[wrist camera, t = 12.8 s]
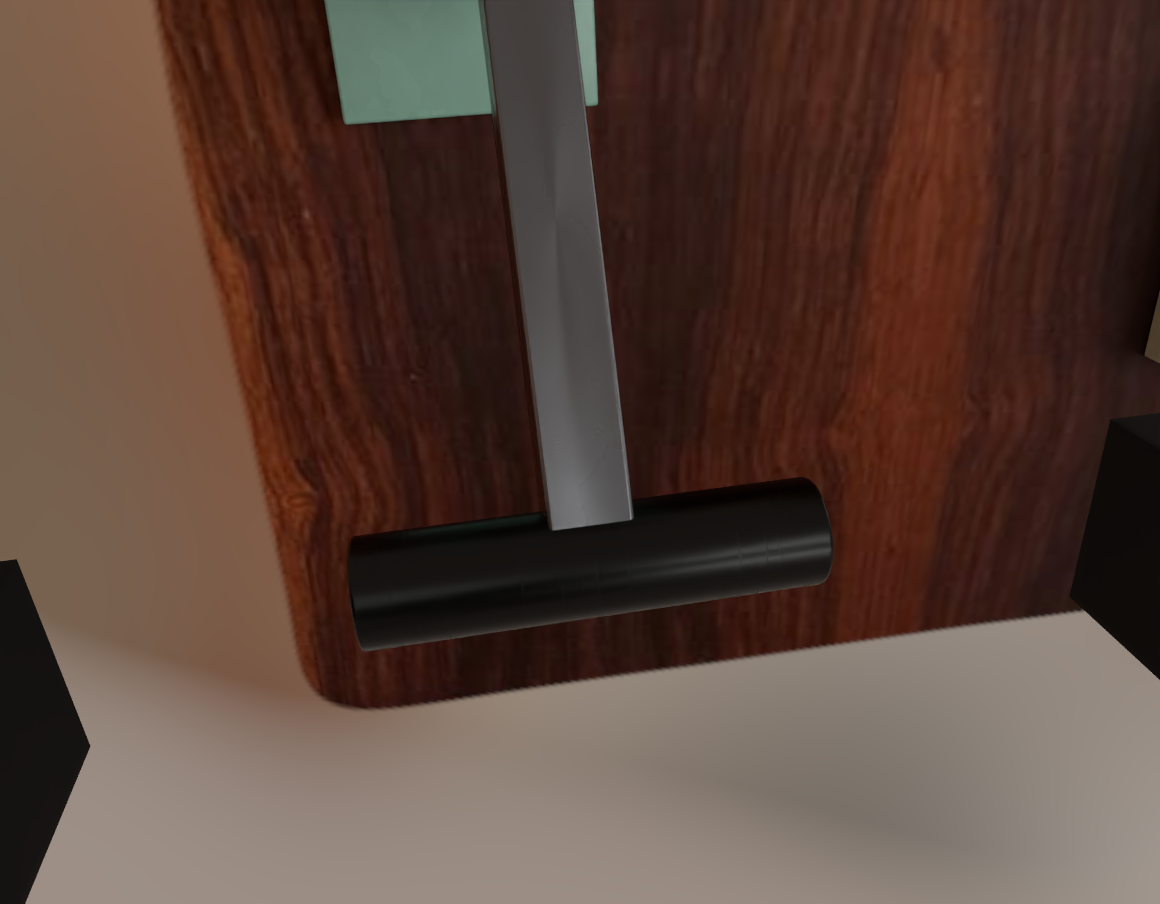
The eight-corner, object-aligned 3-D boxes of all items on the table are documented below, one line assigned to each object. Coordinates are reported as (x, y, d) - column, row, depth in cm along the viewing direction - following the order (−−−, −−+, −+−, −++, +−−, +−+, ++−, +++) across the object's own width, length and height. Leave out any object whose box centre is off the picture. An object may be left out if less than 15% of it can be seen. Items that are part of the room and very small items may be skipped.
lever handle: (787, 569, 14) (856, 599, 11) (371, 630, 13) (352, 675, 10) (691, -274, 13) (743, -429, 11) (256, -264, 12) (209, -430, 10)
